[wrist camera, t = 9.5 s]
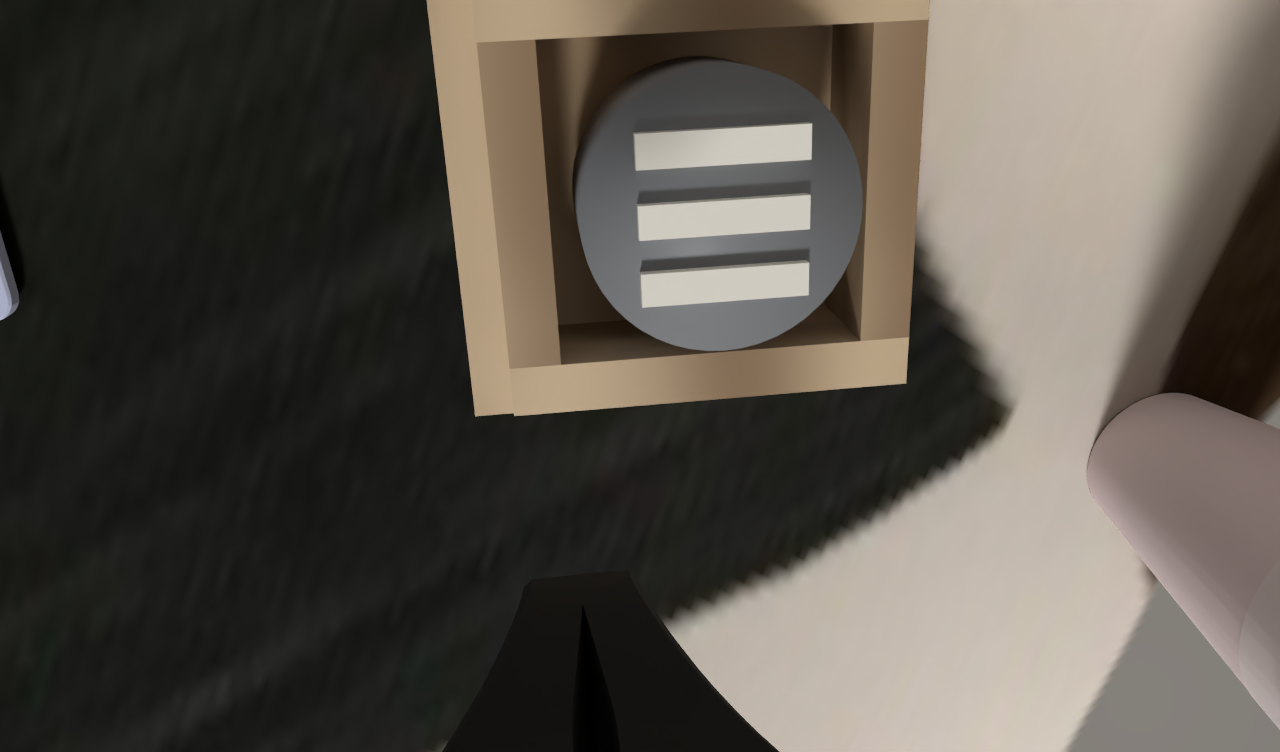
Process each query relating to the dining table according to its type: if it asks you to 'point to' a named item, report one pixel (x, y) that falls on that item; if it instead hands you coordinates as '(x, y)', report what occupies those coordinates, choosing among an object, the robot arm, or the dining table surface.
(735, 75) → the charcoal button
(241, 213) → the dining table surface
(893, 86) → the wooden compartment tray
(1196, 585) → the smoothie
